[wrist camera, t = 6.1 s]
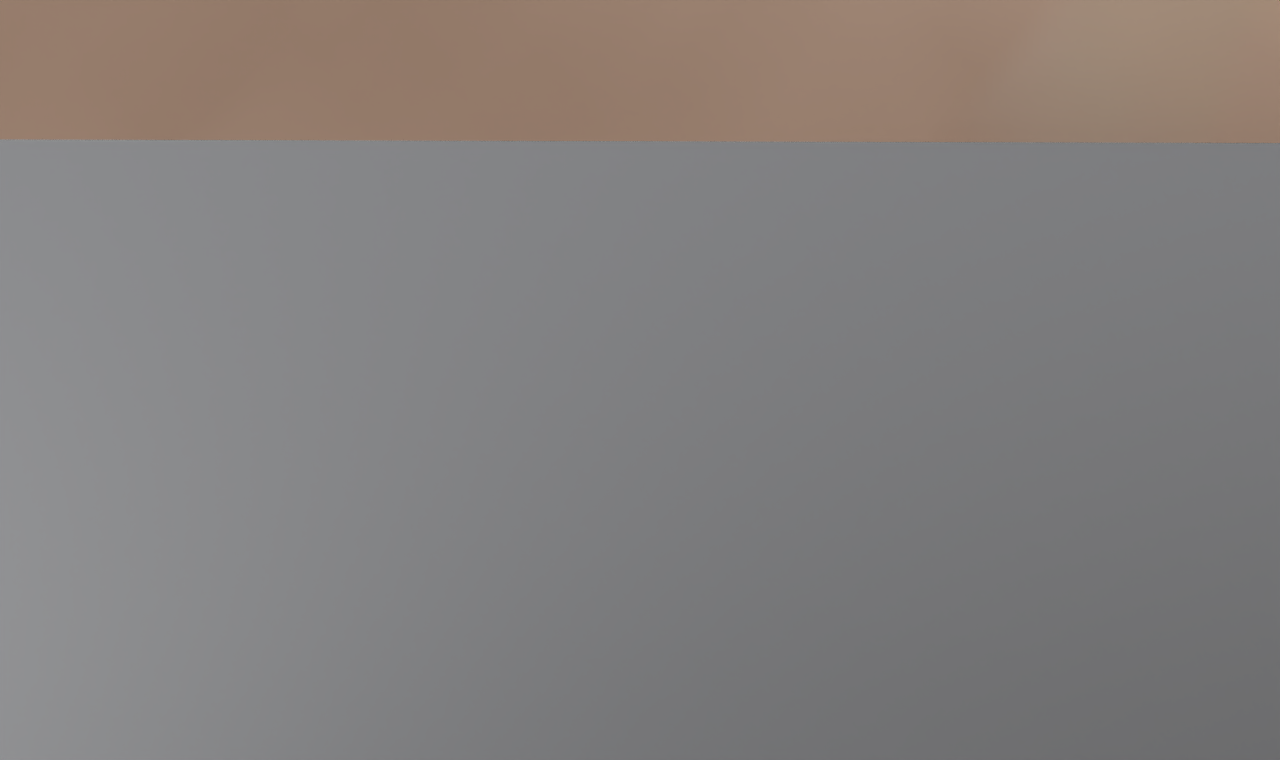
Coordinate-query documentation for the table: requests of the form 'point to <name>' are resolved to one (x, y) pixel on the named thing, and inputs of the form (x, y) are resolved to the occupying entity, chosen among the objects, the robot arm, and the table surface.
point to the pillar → (639, 450)
